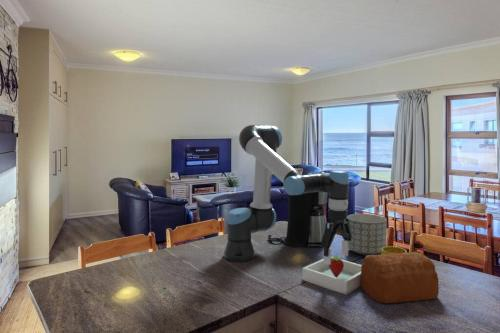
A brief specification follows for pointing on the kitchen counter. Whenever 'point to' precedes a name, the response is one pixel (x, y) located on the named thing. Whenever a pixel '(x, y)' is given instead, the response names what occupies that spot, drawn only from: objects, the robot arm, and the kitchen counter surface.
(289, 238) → the coffee maker
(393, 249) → the plant pot
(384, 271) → the bread
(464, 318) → the kitchen counter surface
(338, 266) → the strawberry
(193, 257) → the kitchen counter surface
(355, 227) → the planter
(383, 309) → the kitchen counter surface
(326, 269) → the serving bin
